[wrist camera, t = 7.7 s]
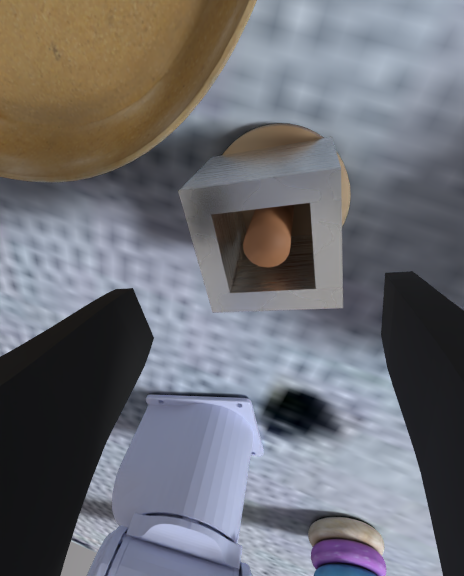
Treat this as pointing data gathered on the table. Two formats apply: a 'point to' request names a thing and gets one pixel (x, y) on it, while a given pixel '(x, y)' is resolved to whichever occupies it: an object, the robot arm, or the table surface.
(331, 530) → the stacking toy
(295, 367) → the table surface
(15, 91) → the plant saucer
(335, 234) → the collar
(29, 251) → the table surface
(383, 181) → the table surface
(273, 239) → the post stand
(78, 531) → the table surface
